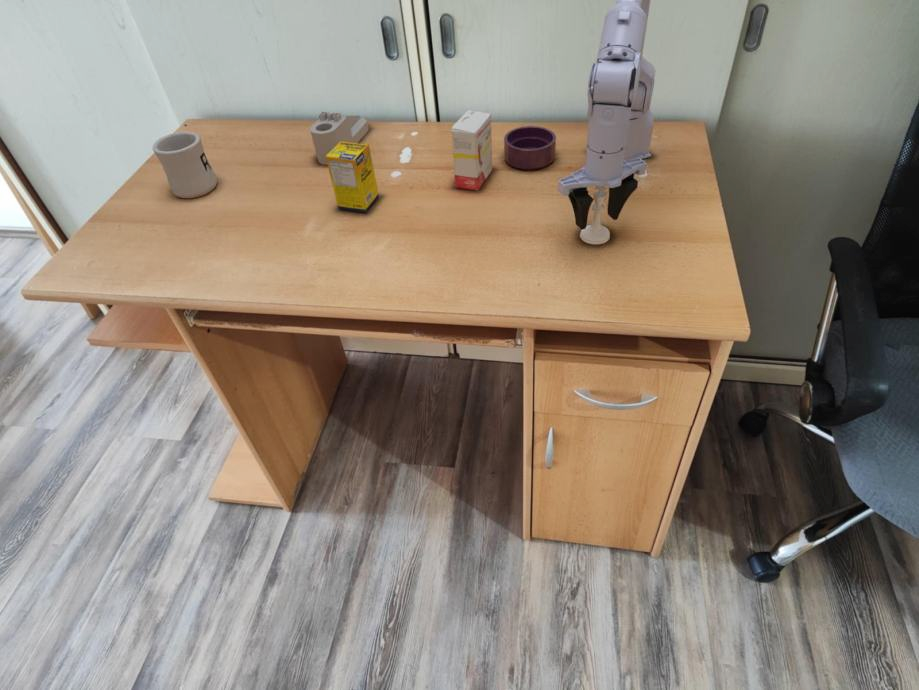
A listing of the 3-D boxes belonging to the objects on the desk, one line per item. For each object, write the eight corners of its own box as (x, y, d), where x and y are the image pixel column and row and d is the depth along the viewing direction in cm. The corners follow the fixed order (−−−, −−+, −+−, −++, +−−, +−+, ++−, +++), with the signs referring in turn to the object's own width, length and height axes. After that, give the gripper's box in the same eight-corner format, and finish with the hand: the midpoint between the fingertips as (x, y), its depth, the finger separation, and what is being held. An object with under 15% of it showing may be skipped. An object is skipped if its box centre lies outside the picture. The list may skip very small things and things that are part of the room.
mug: (221, 192, 117) (202, 145, 110) (174, 204, 115) (152, 157, 108) (214, 165, 125) (196, 120, 118) (170, 176, 123) (149, 131, 116)
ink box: (477, 191, 111) (475, 132, 103) (454, 187, 113) (449, 129, 104) (493, 169, 117) (492, 111, 108) (470, 166, 118) (467, 108, 110)
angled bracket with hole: (371, 126, 134) (364, 91, 128) (337, 165, 122) (329, 129, 116) (348, 125, 135) (341, 90, 129) (313, 163, 123) (303, 127, 118)
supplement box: (379, 196, 112) (369, 143, 104) (366, 213, 108) (355, 159, 101) (351, 193, 114) (340, 140, 106) (337, 209, 110) (324, 156, 102)
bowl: (540, 142, 123) (541, 121, 120) (563, 163, 117) (565, 142, 113) (496, 153, 121) (495, 133, 118) (517, 176, 114) (517, 154, 111)
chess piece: (603, 247, 97) (610, 194, 90) (575, 239, 99) (580, 187, 92) (614, 232, 100) (622, 179, 92) (587, 224, 102) (592, 172, 94)
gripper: (576, 168, 83) (569, 246, 93) (663, 144, 86) (648, 222, 96) (553, 147, 88) (548, 223, 98) (636, 125, 91) (624, 201, 101)
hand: (596, 221), depth 97 cm, fingers open, 5 cm apart
